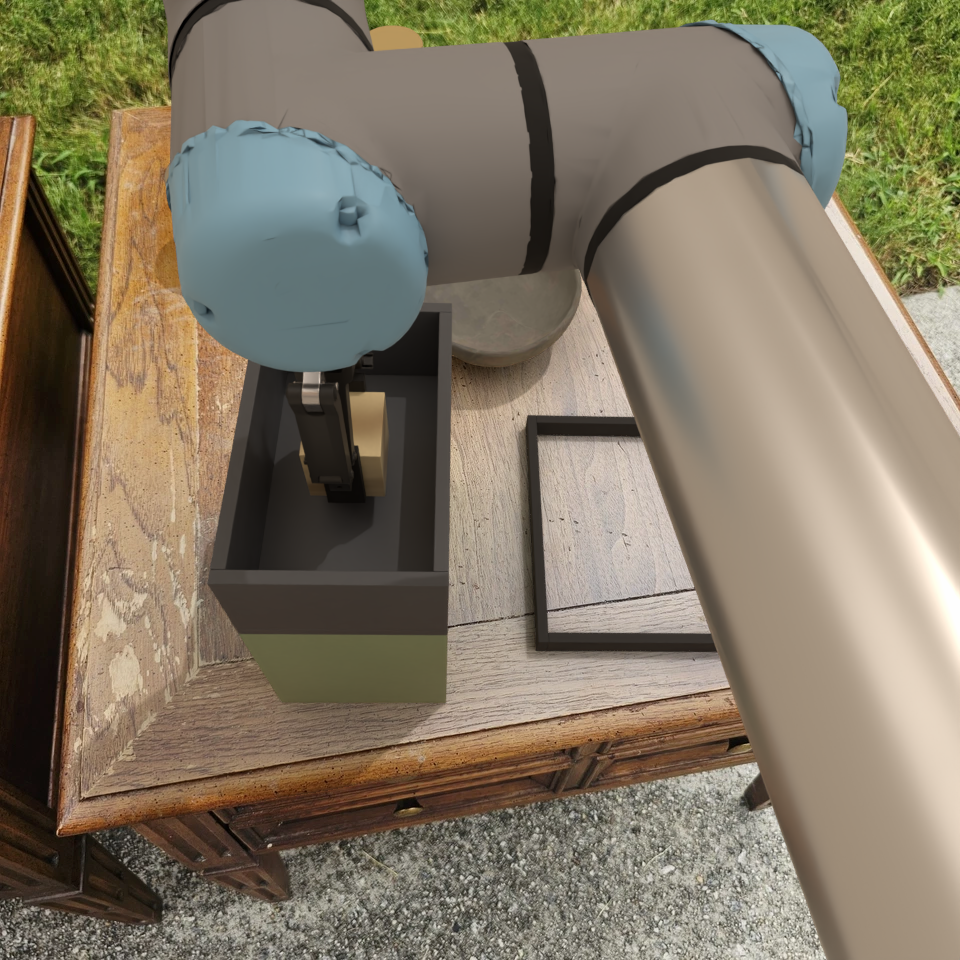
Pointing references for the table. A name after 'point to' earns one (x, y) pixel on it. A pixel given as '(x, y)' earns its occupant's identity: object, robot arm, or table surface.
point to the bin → (342, 507)
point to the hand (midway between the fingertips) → (350, 462)
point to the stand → (353, 667)
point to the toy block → (365, 442)
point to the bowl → (508, 315)
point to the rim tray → (542, 637)
